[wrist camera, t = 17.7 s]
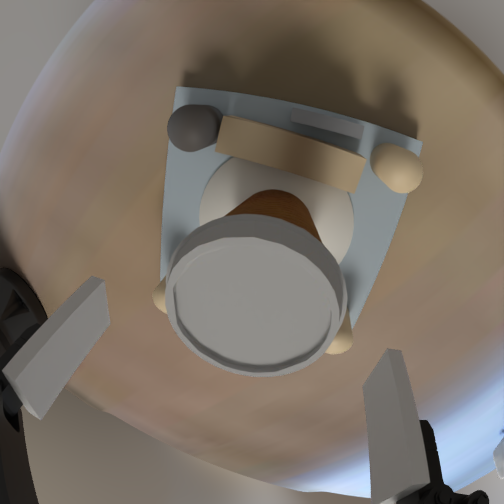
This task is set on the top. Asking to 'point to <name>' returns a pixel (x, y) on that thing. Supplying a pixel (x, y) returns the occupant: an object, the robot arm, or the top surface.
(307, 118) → the board
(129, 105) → the top surface
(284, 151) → the stool leg
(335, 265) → the disposable coffee cup
